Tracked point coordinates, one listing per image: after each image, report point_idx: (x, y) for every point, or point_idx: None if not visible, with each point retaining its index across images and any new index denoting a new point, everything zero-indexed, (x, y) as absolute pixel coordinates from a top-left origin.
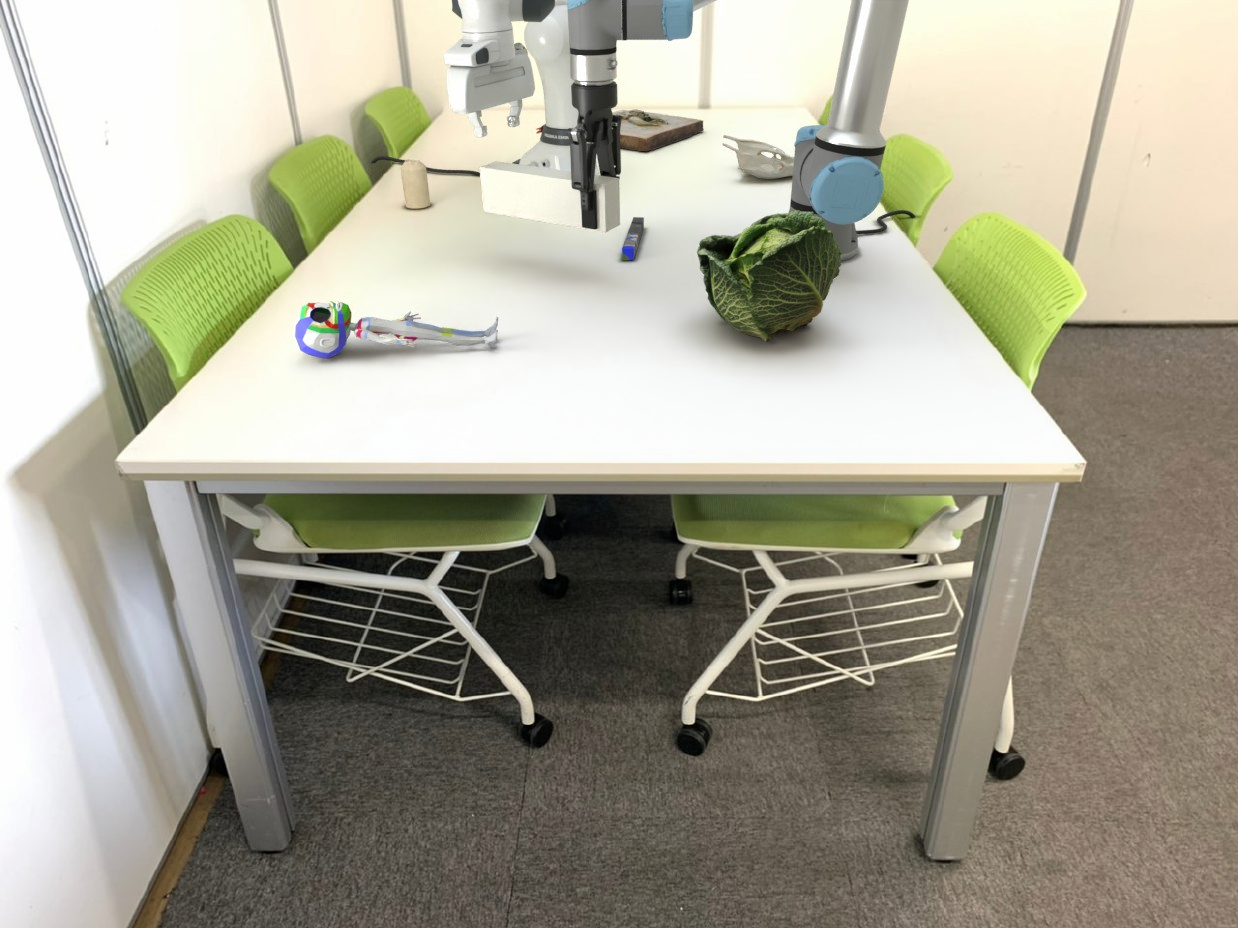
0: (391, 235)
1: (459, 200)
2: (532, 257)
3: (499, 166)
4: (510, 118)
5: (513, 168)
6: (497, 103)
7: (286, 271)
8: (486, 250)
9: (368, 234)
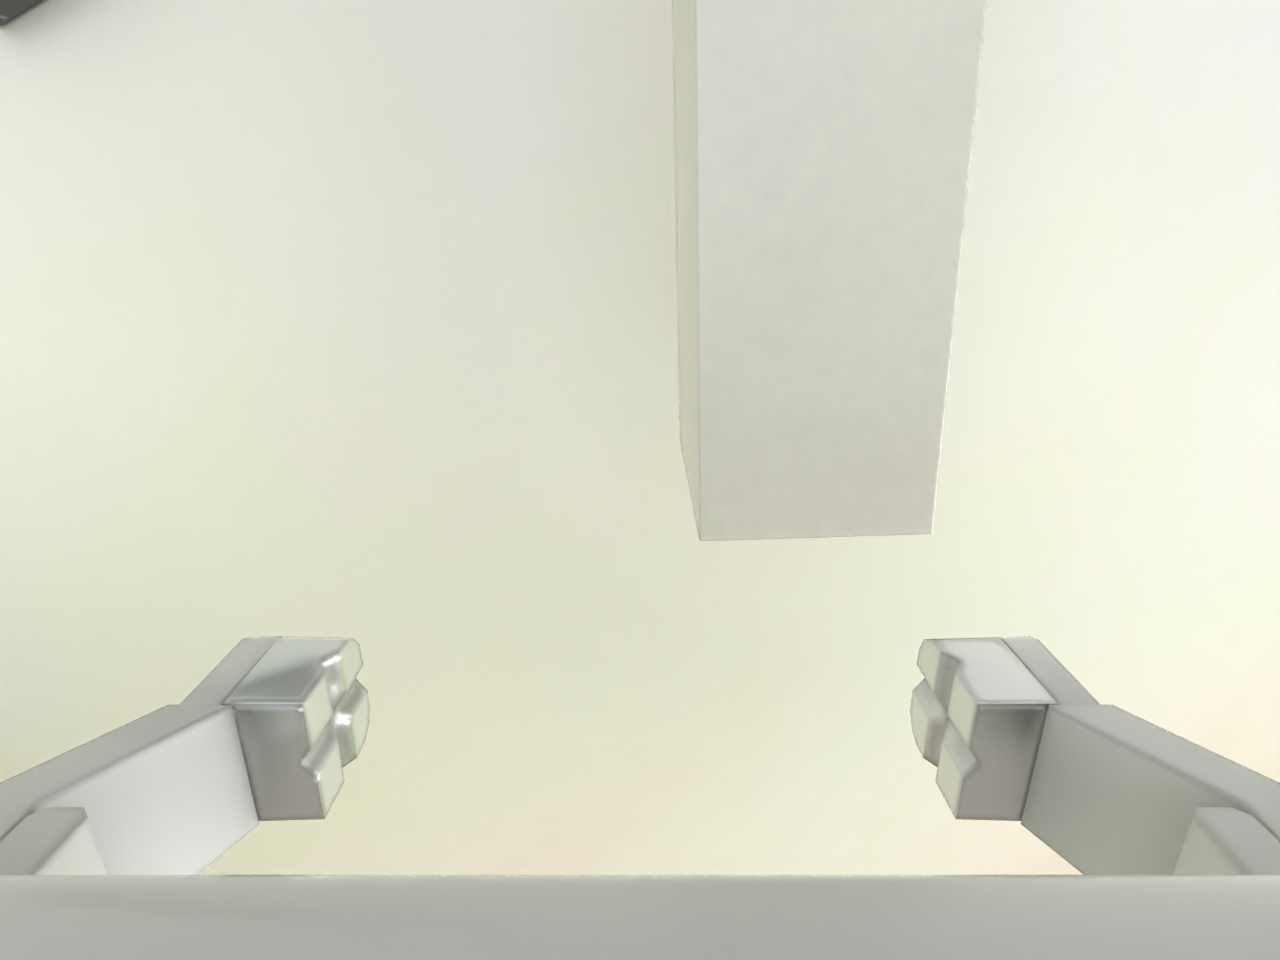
0: (711, 863)
1: None
2: (643, 239)
3: (844, 398)
4: (313, 759)
5: (856, 230)
6: (838, 910)
7: None
8: (670, 474)
9: None
